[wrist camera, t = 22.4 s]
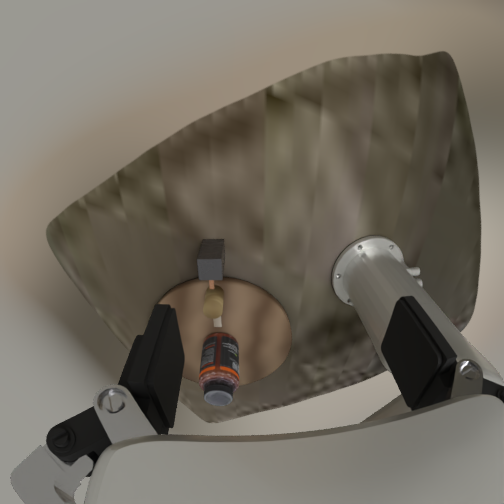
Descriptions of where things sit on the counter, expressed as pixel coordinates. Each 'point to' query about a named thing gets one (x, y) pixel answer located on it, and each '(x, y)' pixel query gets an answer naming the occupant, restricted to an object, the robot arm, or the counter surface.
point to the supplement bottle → (219, 368)
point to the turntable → (231, 324)
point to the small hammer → (211, 260)
